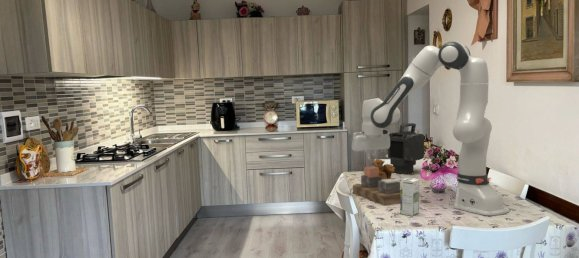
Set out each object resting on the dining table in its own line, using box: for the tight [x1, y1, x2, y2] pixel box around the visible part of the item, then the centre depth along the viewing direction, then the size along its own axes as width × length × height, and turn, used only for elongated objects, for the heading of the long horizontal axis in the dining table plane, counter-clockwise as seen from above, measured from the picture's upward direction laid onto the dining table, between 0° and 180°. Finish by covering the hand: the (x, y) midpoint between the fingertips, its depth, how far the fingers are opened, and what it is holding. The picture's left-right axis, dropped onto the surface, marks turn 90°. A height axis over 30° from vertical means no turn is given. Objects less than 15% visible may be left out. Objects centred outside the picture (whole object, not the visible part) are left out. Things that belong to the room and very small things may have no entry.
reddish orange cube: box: [363, 165, 379, 178], centre depth 215 cm, size 5×5×5 cm
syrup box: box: [399, 177, 420, 217], centre depth 181 cm, size 6×6×14 cm
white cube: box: [381, 178, 398, 183], centre depth 202 cm, size 5×5×5 cm
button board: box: [352, 174, 401, 206], centre depth 209 cm, size 26×14×9 cm, turn 24°
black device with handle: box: [387, 122, 425, 175], centre depth 264 cm, size 15×18×30 cm
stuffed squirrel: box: [370, 158, 395, 180], centre depth 242 cm, size 10×14×13 cm
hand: (370, 159), depth 214 cm, fingers closed
